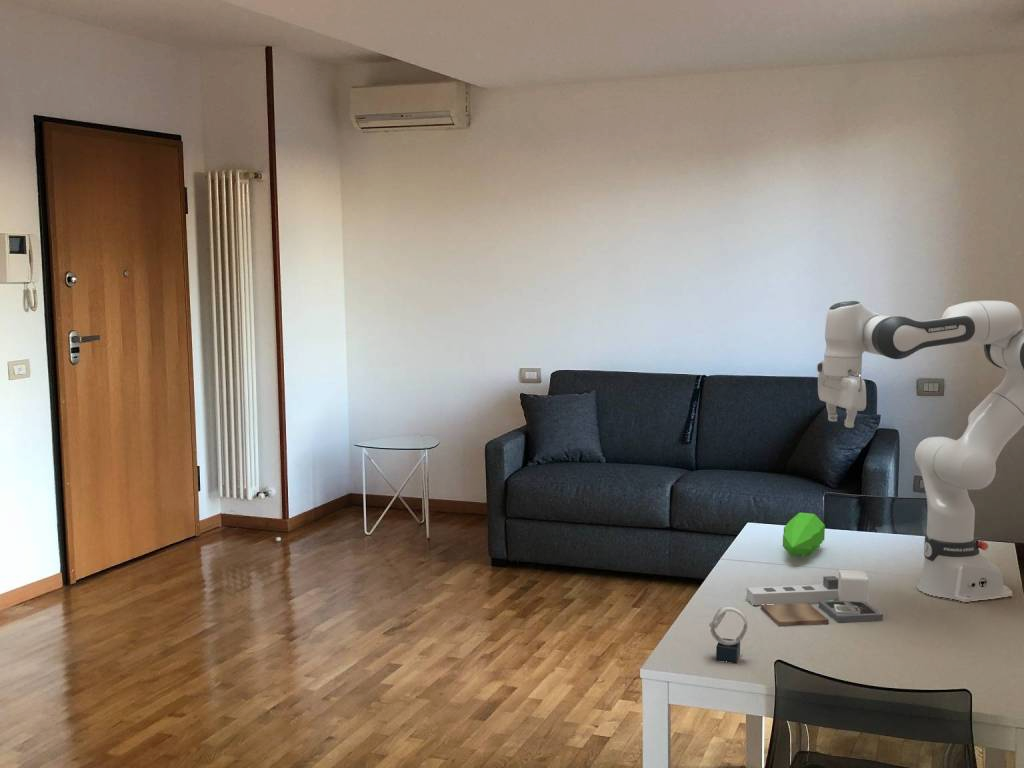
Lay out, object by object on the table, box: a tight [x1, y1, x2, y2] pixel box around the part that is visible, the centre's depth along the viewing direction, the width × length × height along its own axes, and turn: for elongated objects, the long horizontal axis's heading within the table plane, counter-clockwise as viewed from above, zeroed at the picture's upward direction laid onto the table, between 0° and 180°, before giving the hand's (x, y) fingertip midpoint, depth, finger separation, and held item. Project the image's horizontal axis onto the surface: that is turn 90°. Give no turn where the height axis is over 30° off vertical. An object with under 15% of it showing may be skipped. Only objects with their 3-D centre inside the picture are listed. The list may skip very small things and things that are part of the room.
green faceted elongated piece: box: [782, 512, 826, 558], centre depth 303 cm, size 11×12×30 cm
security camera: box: [833, 569, 869, 615], centre depth 254 cm, size 6×7×10 cm
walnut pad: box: [760, 603, 830, 627], centre depth 253 cm, size 12×12×1 cm
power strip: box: [745, 575, 840, 606], centre depth 262 cm, size 22×8×5 cm, turn 97°
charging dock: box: [818, 599, 884, 623], centre depth 254 cm, size 11×11×2 cm
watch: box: [709, 605, 749, 664], centre depth 227 cm, size 6×8×11 cm
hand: (840, 424), depth 260 cm, fingers open, 8 cm apart
